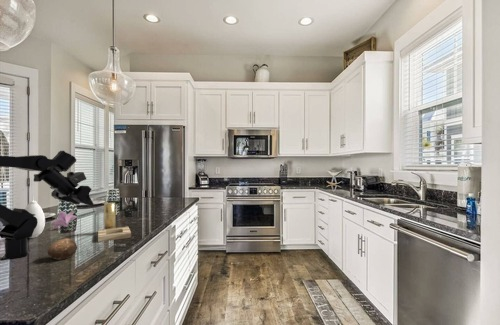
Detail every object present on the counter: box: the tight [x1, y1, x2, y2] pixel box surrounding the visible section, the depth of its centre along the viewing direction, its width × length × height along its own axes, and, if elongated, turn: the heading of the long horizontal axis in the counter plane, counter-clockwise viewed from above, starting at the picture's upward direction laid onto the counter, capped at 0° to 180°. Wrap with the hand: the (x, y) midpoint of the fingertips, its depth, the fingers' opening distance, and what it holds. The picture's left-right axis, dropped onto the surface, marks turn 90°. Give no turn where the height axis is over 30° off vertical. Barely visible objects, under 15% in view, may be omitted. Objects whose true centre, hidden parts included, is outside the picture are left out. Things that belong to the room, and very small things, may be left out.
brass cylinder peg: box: [103, 202, 116, 229], centre depth 118 cm, size 4×4×13 cm
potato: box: [46, 238, 78, 261], centre depth 87 cm, size 8×8×6 cm
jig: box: [97, 226, 132, 243], centre depth 111 cm, size 12×12×2 cm
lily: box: [50, 210, 78, 231], centre depth 124 cm, size 11×11×9 cm
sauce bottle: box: [24, 195, 46, 239], centre depth 109 cm, size 8×8×18 cm
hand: (85, 204), depth 111 cm, fingers open, 9 cm apart
